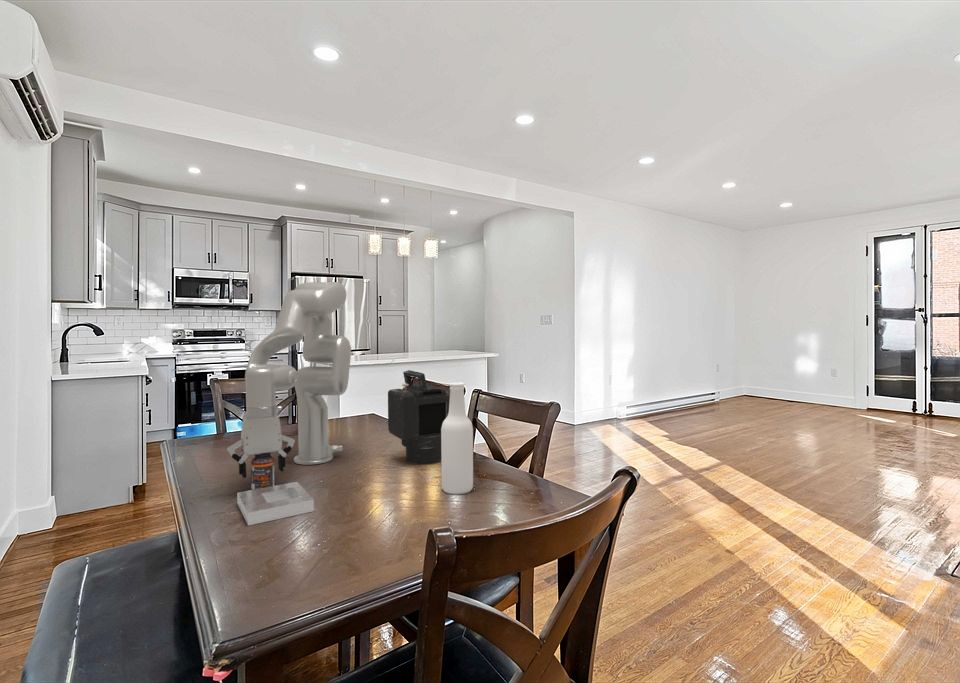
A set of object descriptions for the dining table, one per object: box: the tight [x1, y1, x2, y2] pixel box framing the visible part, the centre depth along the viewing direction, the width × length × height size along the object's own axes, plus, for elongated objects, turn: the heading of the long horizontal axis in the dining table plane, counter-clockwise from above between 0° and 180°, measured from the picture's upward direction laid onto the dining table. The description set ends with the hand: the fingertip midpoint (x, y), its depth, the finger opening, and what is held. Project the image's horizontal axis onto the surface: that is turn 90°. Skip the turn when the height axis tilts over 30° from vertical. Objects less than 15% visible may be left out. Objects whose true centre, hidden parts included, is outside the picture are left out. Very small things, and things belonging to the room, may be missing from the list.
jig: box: [236, 481, 315, 526], centre depth 125 cm, size 15×16×3 cm
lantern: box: [387, 369, 450, 465], centre depth 166 cm, size 15×18×30 cm
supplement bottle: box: [250, 453, 276, 490], centre depth 137 cm, size 6×6×11 cm
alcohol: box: [440, 381, 474, 496], centre depth 137 cm, size 9×9×30 cm
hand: (262, 473), depth 137 cm, fingers open, 9 cm apart
